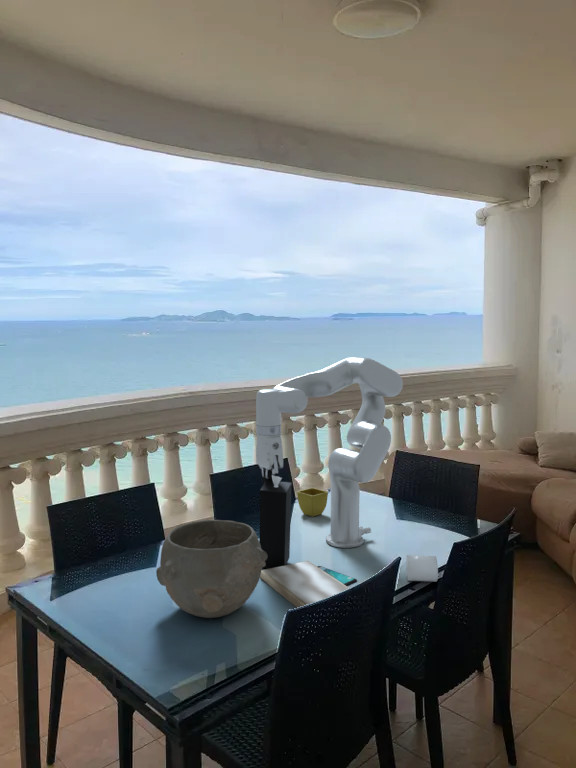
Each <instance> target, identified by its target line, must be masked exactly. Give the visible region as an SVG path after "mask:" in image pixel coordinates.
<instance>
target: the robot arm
mask: <svg viewBox="0 0 576 768" xmlns="http://www.w3.org/2000/svg"><path fill="white" fill-rule="evenodd" d="M353 384H358V386H359V389H360V394H361V400H362V401H361V406H360V409H359V411H358V413H357V414H356V416H355V418H354V419H353V422H352V423H351V425H350V427H349V429H348V431H347V434H346V441H347V443H348V444H349V445H350V446H351V447H353V448H355V449H351V448H348V447H340V448H339V447H338V448H336V449H334V450H333V451H331V453H330V455H329V456H328V462H327V464H328V473H329V479H330V533H329V534H327V535H326V536H325V542H326V544H328V545H329V546H333V547H336V548H344V549H347V548H349V549H350V548H356V547H360V546H362V545H363V544H364V537H363V536H364V534H365V535H366V534H371V533H372V530H371V527H363V526H360V494H361V493H360V492H361V491H360V485H359V483H362V484H363V483H364V484H366V483H368V482H370V481H371V480H372V479H373V478H374V477H375V475H377V472H378V471H379V469H380V467H381V465H382V464H383V461H384V459H385V457H386V455H387V453H389V452H388V451H389V449H390V447H391V444H392V434H391V432H390V430H389V428H388V427H386V426H385V425H383V424H382V423H383V421H384V418H385V415H386V403H385V399H384V397H387V398H392V397H393V398H394V397H397V396H398V395H400V393H401V391H402V390H403V386H404V383H403V378H402V377H401V375H400V374H399V373H398V372H397V371H395V370H393V369H392V368H389V367H387V366H386V365H384V364H383V363H381V362H378V361H376V360H375V359H372V358H370V357H369V358H368V357H357V356H350V357H346V358H344V359H341V360H339V361H338V362H335V363H332V364H331V365H329V366H327V367H324V368H323V369H320V370H317V371H314V372H309V373H306V374H304V375H300V376H296V377H294V378H291V379H290V378H289V379H287V380H286V381H284V382H282V383H280V384H277V385H276V386H274V387H273V388H269V389H265V388H264V389H260V390H258V391H257V393H256V397H255V399H256V401H255V403H256V405H255V410H256V411H255V412H256V413H255V415H256V416H255V420H256V421H255V422H256V423H255V424H256V426H255V427H256V428H255V430H256V431H255V432H256V447H255V448H256V449H255V457H256V458H255V461H256V464H257V465H258V467H259V469H260V470H261V476H262V486H263V485H264V483H265V481H266V480H270V481H273V480H272V475H274V476H276V475H278V474H279V469H280V470H281V469H283V468H284V448H283V441H282V413H284V414H285V413H286V414H299V413H301V412H303V411H304V410H305V409H306V408H307V406H308V403H309V401H308V399H309V398H319V397H320V398H321V397H327V396H331V395H333V394H335V393H337V392H339V391H341V390H343V389H344V388H345V389H346V388H347V387H349V386H351V385H353ZM356 449H358V450H360V451H358V450H356Z"/></svg>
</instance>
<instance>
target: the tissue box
mask: <svg viewBox="0 0 576 768" xmlns="http://www.w3.org/2000/svg"><path fill="white" fill-rule="evenodd" d="M282 479H283V477H280V476H276V475H275V476H274V475H272V480H273V481H270V480H266V481H265V483H264V485H263V484H262V486H261V488H260V490H259V537H258V540H259V542H260V545H261V549H262V550H263V551H265V552H266V553H267V555H268V557H267V559H266V560H265V563H266V565H265V567H262V569H264V568H265V569H270V568H275V567H280V566H285V565H288V563H289V559H290V552H291V551H290V550H291V549H290V548H291V547H290V546H291V521H292V520H291V519H292V518H291V514H292V513H291V510H292V489H293V488H292V487H293V482H289V481H282Z"/></svg>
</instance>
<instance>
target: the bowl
mask: <svg viewBox="0 0 576 768" xmlns="http://www.w3.org/2000/svg"><path fill="white" fill-rule="evenodd" d="M160 552H161V553H160V563H159V564H160V566H158V568H156V571H155V573H156V579H157V581H158V583H159V585H161V586H164V587H165V591H166V592H167V595H168V596H169V598H171V600H172V601H173V602H174V603H175V605H176V606H178V607H179V608H180V609H181V610H183V612H186V613H187V614H190V615H192V616H195V617H199V618H203V619H204V618H206V619H212V618H214V619H215V618H221V617H224V616H228V615H230V614H231V613H233V612H235V611H237V610H238V609H240V608H241V607H243V606H244V605H245V604H246V602H247V601H248V599H250V597H251V595H252V594H253V593H254V592H255V589H256V588H257V585H258V584H259V582H260V579H261V578H260V575H261V570H263V567H265V565H266V563H265V560H266V559H267V557H268V555H267V553H266V552H265V551H263V550H262V549H261V545H260V542H259V537H258V535H257V532H256V531H255V530H254V528H253V527H251V526H250V525H249V524H246V523H244V522H239V521H235V520H226V519H225V520H223V519H222V520H221V519H206V520H205V519H203V520H199V521H194V522H188V523H185V524H181V525H179V526H177V527H175V528H173V529H172V530H171V531H169V533H168V534H167V535H166V536H165V539H164V540H163V544H162V547H161V550H160Z"/></svg>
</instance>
